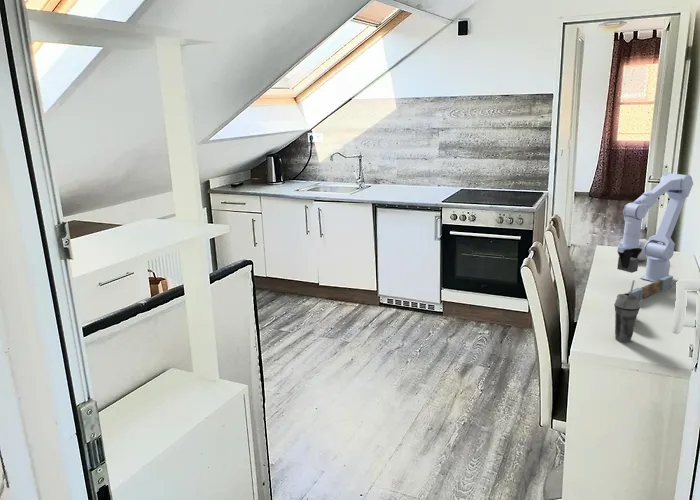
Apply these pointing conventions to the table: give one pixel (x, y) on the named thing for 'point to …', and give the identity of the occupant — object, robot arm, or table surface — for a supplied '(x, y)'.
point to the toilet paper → (641, 256)
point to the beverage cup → (625, 316)
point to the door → (651, 288)
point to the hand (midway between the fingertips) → (627, 266)
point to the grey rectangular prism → (632, 265)
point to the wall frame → (665, 284)
